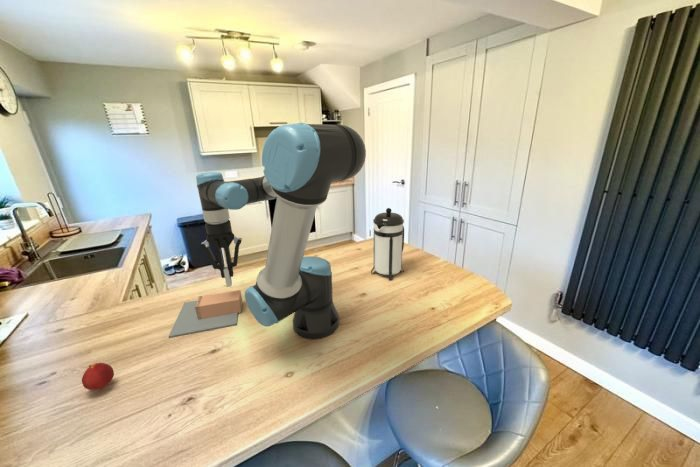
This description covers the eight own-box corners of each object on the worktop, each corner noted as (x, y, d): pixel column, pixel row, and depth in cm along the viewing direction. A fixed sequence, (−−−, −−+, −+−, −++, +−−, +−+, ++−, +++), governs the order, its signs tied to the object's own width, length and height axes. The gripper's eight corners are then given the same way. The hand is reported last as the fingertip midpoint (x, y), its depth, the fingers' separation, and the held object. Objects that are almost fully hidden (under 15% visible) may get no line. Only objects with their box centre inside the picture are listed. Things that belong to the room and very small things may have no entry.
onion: (99, 379, 73) (89, 355, 71) (122, 377, 74) (113, 353, 71) (81, 399, 68) (69, 373, 65) (106, 396, 68) (96, 371, 65)
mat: (236, 325, 93) (236, 323, 93) (168, 338, 88) (168, 336, 88) (240, 294, 111) (240, 293, 111) (184, 303, 106) (184, 302, 106)
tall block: (239, 299, 98) (194, 307, 94) (241, 311, 99) (197, 319, 96) (240, 289, 104) (198, 296, 100) (242, 301, 106) (201, 308, 102)
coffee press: (409, 280, 119) (412, 212, 109) (371, 281, 119) (371, 213, 109) (402, 263, 135) (405, 202, 125) (369, 263, 136) (369, 203, 126)
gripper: (239, 216, 96) (249, 277, 104) (197, 219, 93) (211, 282, 100) (237, 222, 89) (248, 287, 97) (192, 226, 86) (207, 293, 94)
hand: (229, 284), depth 99 cm, fingers closed
